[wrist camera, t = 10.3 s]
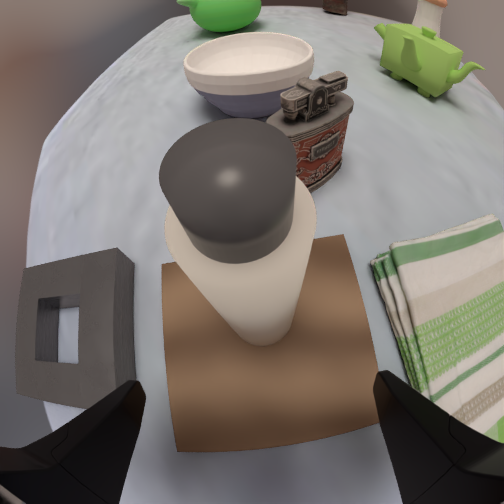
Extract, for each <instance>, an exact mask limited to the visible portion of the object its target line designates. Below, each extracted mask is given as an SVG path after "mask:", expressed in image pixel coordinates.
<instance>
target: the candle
mask: <svg viewBox="0 0 504 504" xmlns="http://www.w3.org/2000/svg"><path fill="white" fill-rule="evenodd" d="M323 9H324V10H326V11H329V12H333V13H339V14H343V15H347V0H323Z"/></svg>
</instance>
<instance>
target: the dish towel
mask: <svg viewBox="0 0 504 504" xmlns="http://www.w3.org/2000/svg"><path fill="white" fill-rule="evenodd" d="M389 249H390V250H389V251H387V252H385V253H383V254H378V255H377V258H376V259H374V260H371V261H370V264H371V265H372V267H373V270H374V275H375V278H376V281H377V283H378V286H379V289H380V292H381V296H382V298H383V299H384V301H385V304H386V310H387V313H388V316H389V319H390V322H391V325H392V328H393V331H394V333H395V336H396V339H397V341H398V344H399V349H400V351H401V355H402V358H403V360H404V364H405V368H406V370H407V375H408V377H409V379H410V383H411V386H412V388H414V389H415V390H416V391H418V392H419V393H421V394H422V395H423V396H425V397H426V398H428V399H429V400H430V401H432V402H433V403H435V404H436V405H438V406H439V407H440V408H442V409H443V410H445V411H446V412H447V413H449V414H450V415H452V416H453V417H455V418H456V419H458V420H459V421H461V422H462V423H464V424H465V425H467V426H469V427H471V428H472V429H474V430H476V431H478V432H480V433H482V434H484V435H486V436H488V437H490V438H492V439H494V440H496V441H498V442H501V443H504V231H503V228H502V225H501V223H500V221H499V219H498V218H495V216H494V214H489V215H486V216H483V217H481V218H478V219H475V220H472V221H470V222H468V223H464V224H462V225H459V226H456V227H453V228H450V229H447V230H444V231H441V232H439V233H436V234H433V235H431V236H428V237H423V238H418V239H412V240H406V241H403V242H394V243H392V244H391V245H390V246H389Z"/></svg>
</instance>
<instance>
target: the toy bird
mask: <svg viewBox="0 0 504 504" xmlns="http://www.w3.org/2000/svg"><path fill="white" fill-rule="evenodd" d="M177 3H179V4H181V5H184V6H188V7H190V13H191V16H192V18H193V20H194V21H195V22H196V23H197V24H198V25H199V26H200V27H202V28H204V29H206V30H209V31H213V32H229V31H234V30H238V29H241V28H243V27H245V26H247V25H249V24H250V23H252V22H253V21H254V20H255V19H256V18H257V17H258V15H259V13H260V10H261V1H260V0H177Z"/></svg>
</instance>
